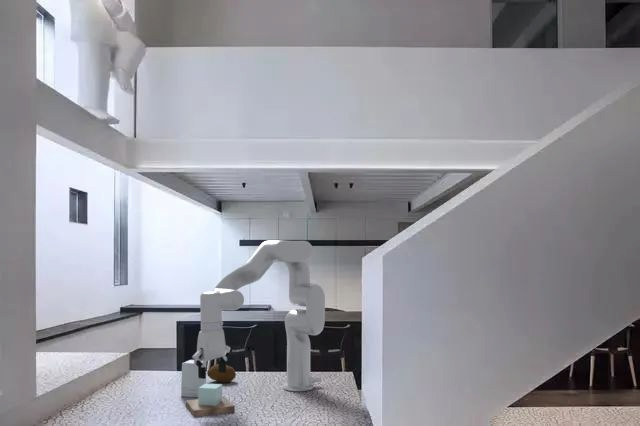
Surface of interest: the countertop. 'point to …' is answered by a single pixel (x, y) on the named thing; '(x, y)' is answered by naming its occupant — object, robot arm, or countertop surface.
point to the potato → (221, 374)
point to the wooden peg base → (209, 407)
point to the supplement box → (190, 379)
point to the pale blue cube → (210, 394)
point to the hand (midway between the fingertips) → (212, 375)
